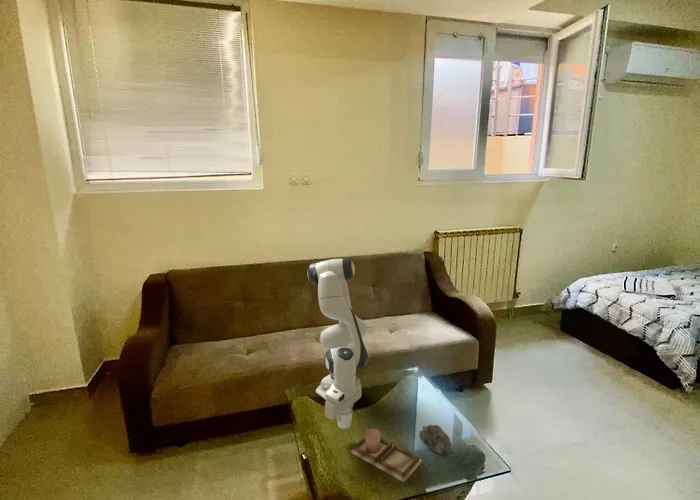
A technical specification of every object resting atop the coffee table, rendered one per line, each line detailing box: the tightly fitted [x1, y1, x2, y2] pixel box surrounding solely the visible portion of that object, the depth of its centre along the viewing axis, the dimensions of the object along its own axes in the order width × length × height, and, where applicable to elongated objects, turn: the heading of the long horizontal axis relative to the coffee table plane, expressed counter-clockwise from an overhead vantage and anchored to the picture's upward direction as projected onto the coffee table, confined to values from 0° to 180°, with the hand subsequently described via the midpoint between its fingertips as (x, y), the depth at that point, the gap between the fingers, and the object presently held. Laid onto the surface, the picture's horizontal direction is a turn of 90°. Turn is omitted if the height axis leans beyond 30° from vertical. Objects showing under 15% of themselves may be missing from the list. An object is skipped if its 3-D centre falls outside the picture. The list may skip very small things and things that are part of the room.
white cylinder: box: [336, 407, 354, 430], centre depth 163 cm, size 7×7×7 cm
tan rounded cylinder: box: [365, 427, 381, 454], centre depth 158 cm, size 6×6×7 cm
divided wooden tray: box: [350, 435, 423, 483], centre depth 155 cm, size 25×13×2 cm, turn 52°
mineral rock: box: [418, 424, 452, 456], centre depth 161 cm, size 13×11×10 cm
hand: (344, 416), depth 163 cm, fingers closed on white cylinder, 5 cm apart
